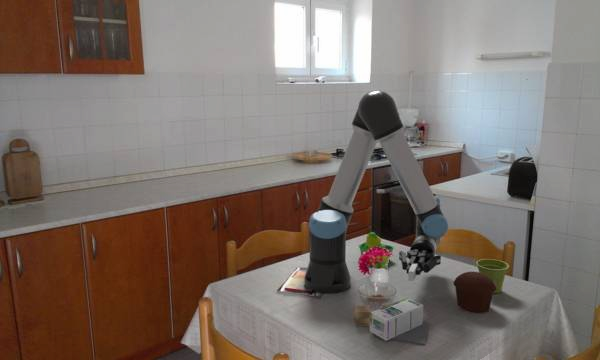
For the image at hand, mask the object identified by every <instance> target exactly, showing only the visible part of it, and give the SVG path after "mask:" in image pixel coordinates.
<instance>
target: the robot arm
mask: <svg viewBox="0 0 600 360" xmlns="http://www.w3.org/2000/svg"><path fill="white" fill-rule="evenodd" d="M351 127H352V129H353V133H352V134H351V137H350V140H349V142H348V144H347V147H346V149H345V152H344V156H343V157H342V159H341V162H340V164H339V167H338V170H337V172H336V175H335V177H334V180H333V182H332V184H331V188H330V189H329V190H330V191H329V192H328V195H326V196H324V197H322V199H321V201H320V203H319V206H318V209H317V211H316V212H313V213H312V214H311V215H310V217H309V223H308V230H309V261H308V265H307V269H306V271H305V274H304V279H303V280H304V283H305V284H304V286H305V285H306V286H307V287H308V288H310V289H312V290H314V291H313V292H316V291H317V292H316V293H321V292H322V293H323V294H334V293H340V292H344V291H346V290H348V289H349V288H350V287H351V284H352V281H351V279H352V278H351V275H350V271H349V269H348V266H347V262H346V246H347V245H346V244H347V243H346V240H347V239H346V237H347V229H348V226H349V223H350V221H351V219H352V216H353V213H354V208H353V206H352V205H353V202H354V199H355V197H356V194H357V192H358V189H359V187H360V184H361V182H362V181H363V178H364V175H365V173H366V170H367V167H368V165H369V162H370V161H371V158H372V156H373V154H374V153H373V152H374V150H375V148H376V145H377V144H378V143H379V144H380V146H381V148H382V150H383V152H384V154H385V156H386V157H387V159H388V162H389V164H390V166H391V168H392V170H393V172H394V174H395V176H396V178H397V180H398V182H399V184H400V186H401V188H402V190H403V192H404V193H405V196H406V198H407V199H408V202H409V204H410V206H411V208H412V210H413V212H414V214H415V217H416V226H415V239H414V241H413V242H412V244H411V247H410V248H409V250H408V251H405V252H404V251H403V250H401V251H399V252H398V253H399V254H398V260H399V261H400V262H401V267H402V270H403V271H406V274H407V276H408V277H407V279H408V281H410V282H414V281H415V279H416V276H420V275H421V274H422V272H423V273H426V274H428V273H429V272H430V271H431V270H433V269H434V268H435V267H437V266H439V265H441V261H442V260H441V259H442V256H441V255H440V254H439V255H436V254H435V253H436V252H437V249H438V247H439V244H440V240H441V238H442V237H444V236H445V235H446V234H447V232H448V230H449V224H448V220H447V218H446V217H445V215H444V213H443V212H442V209H441V204H440V203H441V199H440V198H439V197H438V196H436V195H434V193H433V191H432V190H431V186H430V185H429V183H428V181H427V179H426V177H425V175H424V173H423V170H422V169H421V167H420V165H419V163H418V160H417V158H416V156H415V155H414V152H413V151H412V148H411V145H410V144H409V142H408V140H407V138H406V136H405V134H404V131H403V130H404V128H405V127H404V124H403V122H402V119H401V117H400V114H399V111H398V108H397V105H396V102H395V100H394V98H393V97H392V96H391V95H390V94H389V93H387V92H385V91H382V90H372V91H369V92H367V93H366V94H364V95H363V96H362V97H361V99H359V103H358V106H357V109H356V113H355V115H354V117H353V120H352V122H351ZM306 286H305V287H306ZM307 287H306V288H307ZM308 288H307V289H308ZM310 289H309V290H310ZM312 290H311V291H312Z"/></svg>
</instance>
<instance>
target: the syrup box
mask: <svg viewBox="0 0 600 360" xmlns="http://www.w3.org/2000/svg"><path fill="white" fill-rule="evenodd" d="M423 317H424V305H423V304H421V303H419V302H416V301H415V300H413V299H410V298H408V297H406V298H403V299H401V300H398V301H396V302H393V303H391V304H388V305H385V306H383V307H380V308H378V309H376V310H373V311H372V310H371V313H370V326H369V332H370V333H371V334H374V335H375V336H376V337H377V336H378V337H380V338H379V339H382V340H383V341H389V340H390V339H391V338H393V337H396V336H398V335H400V334H402V333H404V332H407V331H409V330H411V329H413V328H416V327H418V326H420V325H422V321H424V320H423V319H424V318H423ZM378 337H377V338H378Z"/></svg>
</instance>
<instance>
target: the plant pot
mask: <svg viewBox="0 0 600 360" xmlns="http://www.w3.org/2000/svg"><path fill="white" fill-rule="evenodd" d="M476 266H477V269H478V272H479V273H482V274H484V275H486V276H488V277H489V278H490V279H492V281H493V282H494V284H495V286H496V290H495V291H494V292H493V294H495V293H496V294H500V293H501V292H502V290H503V286H504V280H505V276H506V273H507V271H508V270H509V268H510V265H509V264H508V263H507V262H505V261H503V260H498V259H493V258H482V259H478V260H477V261H476Z"/></svg>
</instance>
